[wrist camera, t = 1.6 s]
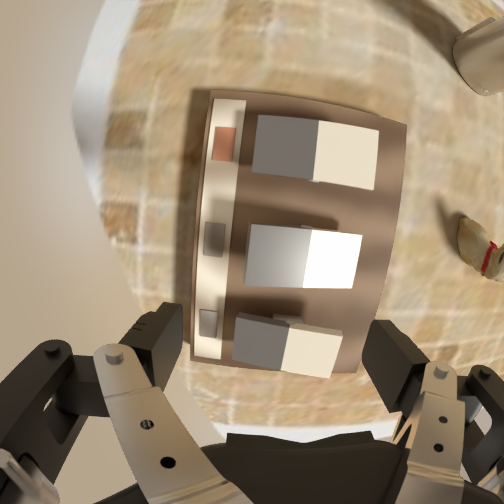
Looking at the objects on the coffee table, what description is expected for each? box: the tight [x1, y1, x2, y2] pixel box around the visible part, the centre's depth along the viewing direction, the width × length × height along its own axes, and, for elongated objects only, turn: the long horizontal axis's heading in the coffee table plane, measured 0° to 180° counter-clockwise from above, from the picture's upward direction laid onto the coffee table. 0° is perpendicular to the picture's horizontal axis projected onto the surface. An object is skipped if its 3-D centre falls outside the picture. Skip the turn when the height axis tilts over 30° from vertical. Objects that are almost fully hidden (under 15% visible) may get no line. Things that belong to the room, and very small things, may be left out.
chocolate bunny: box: [457, 218, 504, 282], centre depth 23 cm, size 6×8×10 cm
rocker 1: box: [252, 115, 379, 190], centre depth 21 cm, size 5×10×2 cm, turn 84°
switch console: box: [190, 90, 407, 373], centre depth 27 cm, size 29×20×5 cm
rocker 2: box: [232, 312, 343, 378], centre depth 25 cm, size 5×10×2 cm, turn 84°
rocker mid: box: [243, 222, 362, 288], centre depth 23 cm, size 5×10×2 cm, turn 84°
